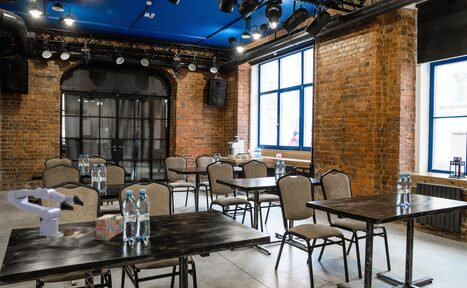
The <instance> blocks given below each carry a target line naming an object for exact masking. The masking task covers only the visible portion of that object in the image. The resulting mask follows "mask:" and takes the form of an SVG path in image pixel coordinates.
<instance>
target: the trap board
mask: <svg viewBox="0 0 467 288" xmlns="http://www.w3.org/2000/svg"><path fill="white" fill-rule="evenodd" d="M72 227H73V228H74V235H72V236H63V233H62V232H61V233H60V234H58V235H55V236H46V246H48V247H49V246H50V247H51V246H52V247H66V248H67V247H69V248H70V247H71V248H73V247H74V248H80V247H83V246H84V245H86V244H88V243H89V242H92V241H94V240H96V227H84V226H83V227H82V226H81V227H80V226H72Z"/></svg>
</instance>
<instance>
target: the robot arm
mask: <svg viewBox="0 0 467 288" xmlns="http://www.w3.org/2000/svg"><path fill="white" fill-rule="evenodd" d="M69 195H70V194H67V195H65V194H62V193H61V192H59V191H57V190H56V189H55V188H47V187H44V188H42V187H36V188H35V189H23V188H22V189H18V190H11V191H8V192H7V194H6V198H7V200H8V203H10V204H13V205H14V207H16V208H17V209H19V210H21V211H25V212H27V213H31V214H35V215H38V216H39V218H41V219H42V220H41V221H40V222H39V237H41V236H43V237H47V236H58V235H60V234H62V231H59V220H60V219H59V218H60V217H61V215H62V212H61V211H73V212H74V210H75V207H74V206H75V205H76V206H77V205H78V206H80V207H83V206H84V205H85V203H84V202H83V200H81V198H80V197H79V195H74V196H73V195H72V196H71V195H70V196H69ZM28 196H29V197H30V196H33V198H34V199H35V198H36V199H43V200H50V201H51V202H53V203H56V206H55V207H46V206H42V205H38V204H35V203H32V202H29V198H28ZM71 203H73V205H74V206H73V205H72V204H71Z"/></svg>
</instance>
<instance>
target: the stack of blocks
mask: <svg viewBox="0 0 467 288" xmlns="http://www.w3.org/2000/svg"><path fill="white" fill-rule="evenodd" d="M124 219H125V217H124V216H121V215H117V214H104V215H103V216H101V217H98V218H96V219H95V228H96V239H95V240H96V241H108V240H110V239H112V238H114V237H115V236H117V235H119V234H121V233H123V232H124V231H123V229H124V230H125V220H124Z"/></svg>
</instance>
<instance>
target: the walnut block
mask: <svg viewBox="0 0 467 288" xmlns="http://www.w3.org/2000/svg"><path fill="white" fill-rule="evenodd" d="M73 227H74V226H67V227H64V228H63V236H72V235H74V228H73Z"/></svg>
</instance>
